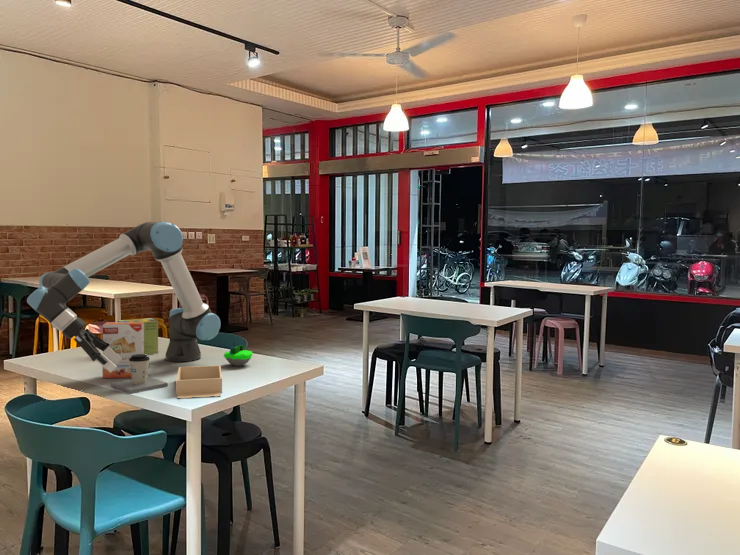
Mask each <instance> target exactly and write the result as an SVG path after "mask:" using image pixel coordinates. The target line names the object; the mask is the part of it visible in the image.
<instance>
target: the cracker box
mask: <svg viewBox="0 0 740 555" xmlns="http://www.w3.org/2000/svg"><path fill="white" fill-rule="evenodd" d="M102 340H103V341H105V342H106V343H109V344H110V345H109V346H108V347H110V348H111V349H112V350H113V351H114V352H115V353H117V354H118V355H119V356H120V357H121V358H122V359H121V360H120V361H119V362H118V363H117V364H115V363H114V362H113V361H112V360H111V359H110V358H109V357H107V356H106V355H105V354H104V353H103V352H102V354H103V355H104V356H106V357H107V358H108V359H109V360H110V361H111V362H112V363H114V364H115V365H116V366H117V367H116V368H115V369H114V370H113V371H112V372H111V373H110V372H109V371H108V370H107V369H106V368H105V367H103V366H102V379H113V378H115V379H116V378H117V379H118V378H121V379H122V378H123V379H124V378H132V375H131V368H130V361H129V359H130V358H131V356H132V355H136V354H144V322H118V321H116V322H115V321H114V322H112V321H110V322H109V321H107V322H105V323H103V324H102Z"/></svg>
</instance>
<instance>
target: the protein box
mask: <svg viewBox="0 0 740 555" xmlns="http://www.w3.org/2000/svg"><path fill="white" fill-rule="evenodd" d="M117 322H144V354H147V355H153V354H152V353H156V354H158V353H159V320H157V319H154V318H151V317H149V318H148V317H147V318H133V319H122V320H121V319H120V320H117Z"/></svg>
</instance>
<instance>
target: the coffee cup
mask: <svg viewBox="0 0 740 555" xmlns="http://www.w3.org/2000/svg"><path fill="white" fill-rule="evenodd" d="M150 360H151V359H150V357H149V356H148V354H147V355H145V354H136V355H132V356H131V358H130V359H129V361H130V368H131V375H132V377H131V379H132V383H133V384H144V383H146V380H147V376H148V372H149V371H148V370H149V361H150Z"/></svg>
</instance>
